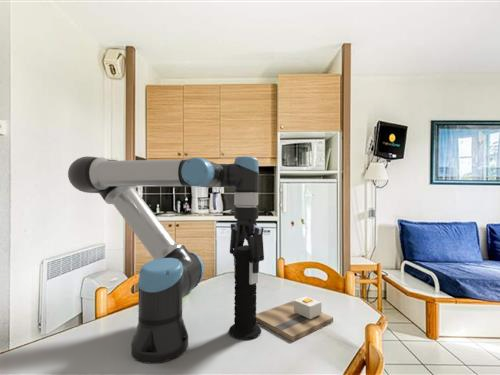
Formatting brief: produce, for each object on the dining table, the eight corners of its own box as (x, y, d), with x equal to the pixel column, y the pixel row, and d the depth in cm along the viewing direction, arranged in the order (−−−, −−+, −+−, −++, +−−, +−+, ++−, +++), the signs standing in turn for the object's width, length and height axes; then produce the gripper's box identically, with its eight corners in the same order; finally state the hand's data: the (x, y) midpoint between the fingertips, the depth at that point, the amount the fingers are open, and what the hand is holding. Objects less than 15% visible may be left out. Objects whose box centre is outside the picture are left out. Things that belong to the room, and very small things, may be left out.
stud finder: (310, 319, 91) (310, 305, 91) (293, 311, 96) (293, 299, 97) (321, 314, 95) (321, 301, 95) (305, 307, 100) (305, 295, 100)
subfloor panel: (292, 341, 81) (292, 336, 81) (253, 319, 95) (253, 314, 95) (333, 321, 93) (333, 317, 93) (292, 304, 107) (292, 300, 107)
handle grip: (260, 339, 81) (262, 323, 91) (261, 248, 82) (262, 242, 92) (226, 337, 82) (231, 322, 92) (227, 247, 83) (232, 241, 93)
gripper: (277, 207, 82) (276, 286, 82) (237, 204, 97) (236, 271, 97) (257, 208, 77) (257, 291, 77) (219, 205, 93) (218, 274, 92)
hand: (245, 280), depth 87 cm, fingers closed on handle grip, 7 cm apart
